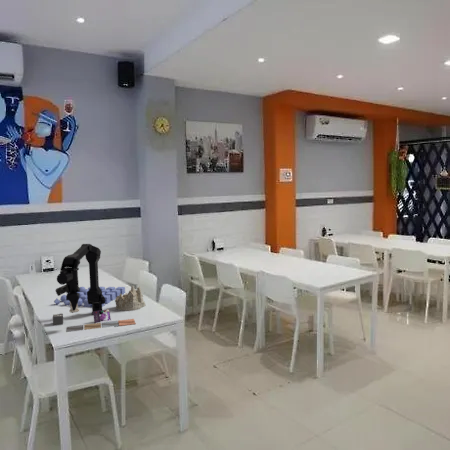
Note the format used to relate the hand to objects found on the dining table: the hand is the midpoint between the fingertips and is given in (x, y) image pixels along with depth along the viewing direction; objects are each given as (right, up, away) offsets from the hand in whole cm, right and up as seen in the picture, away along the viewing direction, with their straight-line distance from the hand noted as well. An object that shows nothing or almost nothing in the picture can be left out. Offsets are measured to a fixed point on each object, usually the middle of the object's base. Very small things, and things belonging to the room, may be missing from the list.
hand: (74, 308), depth 225 cm
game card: (+11, -10, +13) cm, 19 cm away
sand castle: (+21, -7, +39) cm, 45 cm away
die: (-12, -10, +10) cm, 19 cm away
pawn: (0, -1, 0) cm, 1 cm away
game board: (+13, -10, +5) cm, 17 cm away
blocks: (-11, -6, +60) cm, 62 cm away
